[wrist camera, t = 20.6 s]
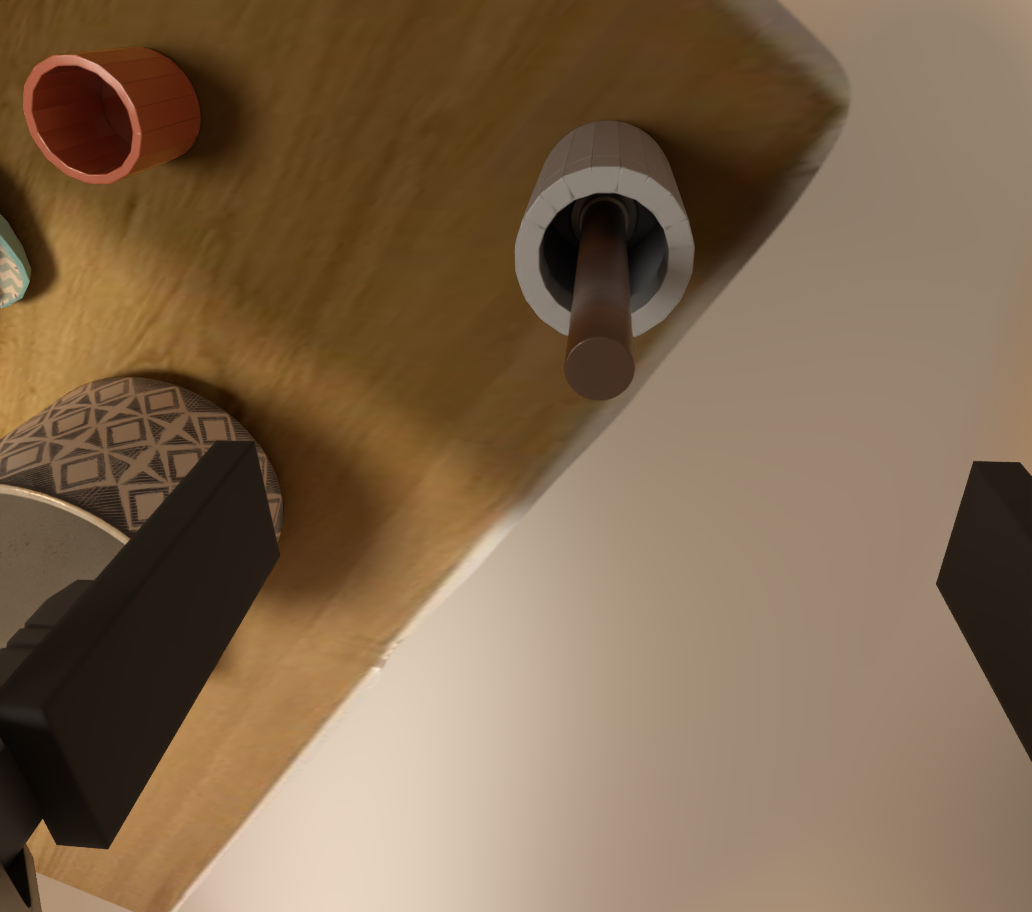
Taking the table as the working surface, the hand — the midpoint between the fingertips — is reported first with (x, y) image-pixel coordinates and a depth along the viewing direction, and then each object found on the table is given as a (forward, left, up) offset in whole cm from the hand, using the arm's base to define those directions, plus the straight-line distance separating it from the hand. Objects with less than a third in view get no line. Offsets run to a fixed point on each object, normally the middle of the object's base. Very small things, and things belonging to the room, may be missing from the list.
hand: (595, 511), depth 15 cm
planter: (+32, +23, -36) cm, 53 cm away
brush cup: (+27, -3, -36) cm, 45 cm away
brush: (0, +2, -36) cm, 36 cm away
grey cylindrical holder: (0, +2, -36) cm, 36 cm away
